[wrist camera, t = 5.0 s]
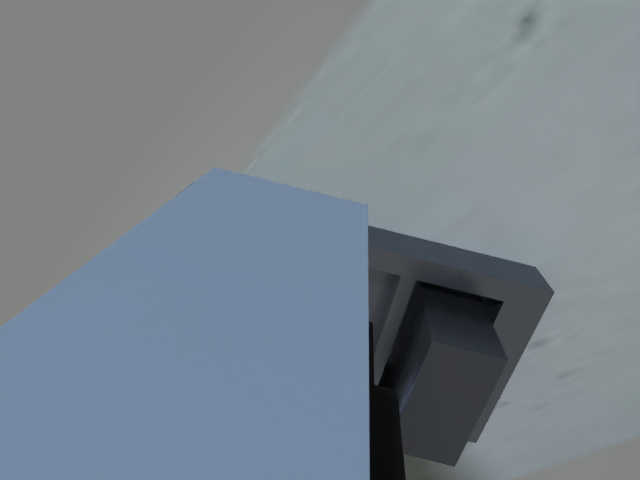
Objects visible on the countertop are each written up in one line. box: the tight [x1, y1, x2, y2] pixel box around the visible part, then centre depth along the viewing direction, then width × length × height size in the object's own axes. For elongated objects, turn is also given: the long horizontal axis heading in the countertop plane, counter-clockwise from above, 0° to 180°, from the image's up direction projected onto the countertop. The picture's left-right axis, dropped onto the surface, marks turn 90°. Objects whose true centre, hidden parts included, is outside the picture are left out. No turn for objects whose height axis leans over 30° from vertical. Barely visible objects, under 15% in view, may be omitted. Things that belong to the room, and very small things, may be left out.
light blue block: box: [0, 167, 370, 480], centre depth 8 cm, size 7×4×8 cm, turn 167°
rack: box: [176, 183, 554, 466], centre depth 24 cm, size 11×20×7 cm, turn 77°
